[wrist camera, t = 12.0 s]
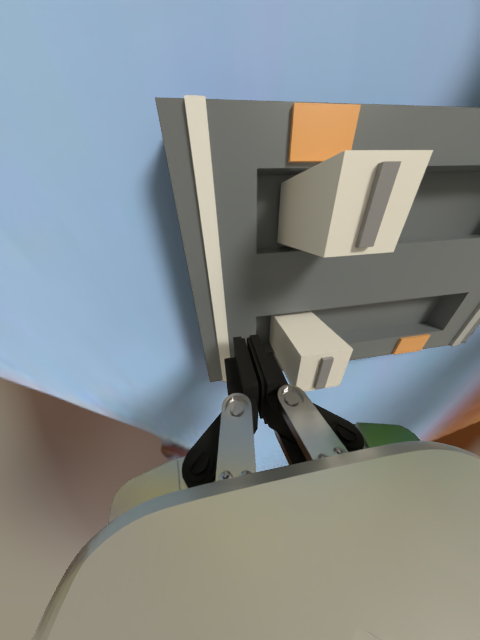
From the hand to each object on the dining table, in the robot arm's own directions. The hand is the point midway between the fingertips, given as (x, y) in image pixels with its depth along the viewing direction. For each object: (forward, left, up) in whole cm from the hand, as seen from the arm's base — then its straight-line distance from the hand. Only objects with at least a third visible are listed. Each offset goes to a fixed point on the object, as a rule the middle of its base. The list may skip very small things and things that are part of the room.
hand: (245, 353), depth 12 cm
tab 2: (-4, -8, -3) cm, 9 cm away
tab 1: (-4, 0, -3) cm, 5 cm away
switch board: (-10, -4, -4) cm, 12 cm away
